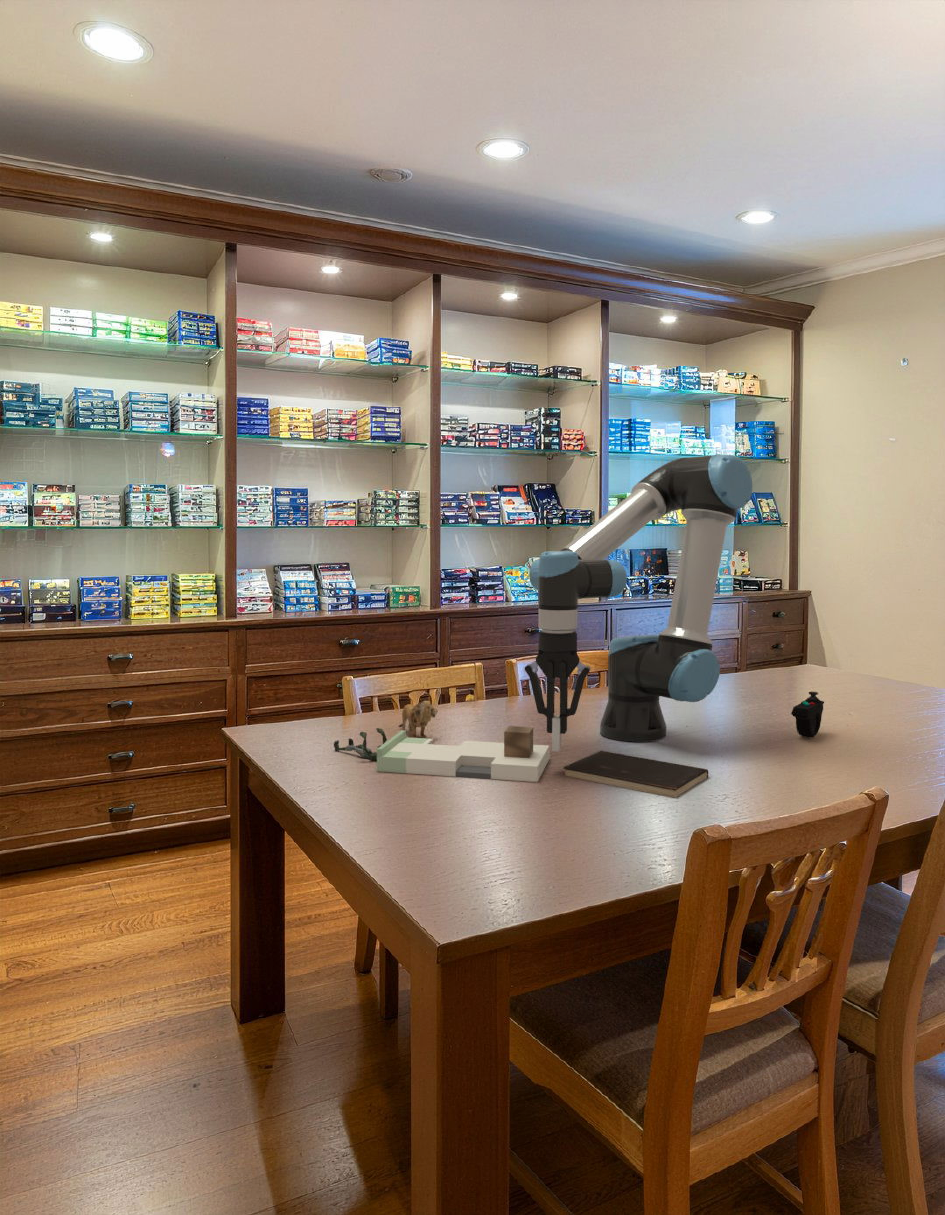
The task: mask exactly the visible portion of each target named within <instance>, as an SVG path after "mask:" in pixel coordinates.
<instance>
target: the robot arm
mask: <svg viewBox="0 0 945 1215" xmlns="http://www.w3.org/2000/svg"><path fill="white" fill-rule="evenodd" d="M752 493H753V479H752V475H751V472H750V471H749V467H748V466H747V464H746V462H744V460H742V459H741V458H740V457H739V456H737V455H734V454H720V453H716V454H713V455H704V456H693V457H691V456H690V457H681V458H680V457H679V458H676V459H672V460H671V461H668V462H666V463H664V464H663V465H661V466H660V467H658V468H656V469H655V470H653V471H652V472H650V473H649V474H648V475H646V476H645V477H643V478H641V479H640V481H638V482H637V483H636V484H635V485H633V487H632V488H631V492H630V494H629V495H628V496H626V497H625V498H624V499H623V500H622V501H620V502H619V503H618V504H617V505H615V506H614V507H613V508H612V509H610V510H609V511H608V512H607V513H606V514H605V515H603V516H602V517H601V518H599V519H598V520H596V521H595V522H594V523H593V524H592V525H590V526H589V527H588V528H587V529H586V530H584V531H583V532H581V533H580V534H579V535H578V536H576V537H575V538H574V539H573V540H572V541H570V542H569V543H567V545H565V546H564V547H563V548H562V549H560V550H557V551H556V550H551V551H550V550H549V551H547V550H546V551H543V552H542V553H541V554H540V557H539V558H538V559H536V560H535V561H534V562H533V563H532V564H531V566H530V568H529V572H528V578H529V582H530V584H531V586H532V588H533V589H534V590H536V591H538V628H539V632H538V643H537V644H538V645H537V648H538V650H537V651H538V652H537V655H536V657H535V660H534V661H533V662H530V663H528V664H527V665H525V667H524V671H525V672H526V674H527V676H528V677H529V680H530V685H531V690H532V692H533V693H532V694H533V697H534V702H535V706H536V710H537V713H538V714H540V715H544V716H545V717H546V732H547V734H551V736H552V737H551V751H552V752H561V750H562V734H563V735H565V734H566V733H567V731H568V717H570V716H574V715H576V712H577V709H578V706H579V702H580V699H581V696H582V695H581V694H582V690H583V688H584V687H583V686H584V684H585V679H586V678H587V676H588V675H589V673H590V672H591V666H590V665H585V664H584V663H582V662H581V661H580V657H579V654H578V633H577V632H576V631H575V630H577V629H578V604H579V602H578V601H579V600H581V599H596V598H598V599H599V598H601V599H602V598H605V599H608V598H613V597H618V596H619V595H621V594H622V593H623V592H624V591H625V589H626V586H627V579H628V578H627V577H628V576H627V575H628V574H627V571H626V568H625V567H624V565H623V564H622V563H621V562H619V561H617V560H614V559H607V557H609V556H610V555H611V554H612V553H614V552H615V551H616V550H617V549H618V548H620V547H621V546H622V545H623V544H624V543H626V542H627V541H628V540H629V539H631V537H633V536H634V535H636V533H638V532H639V531H640V530H642V528H644V527H645V526H646V525H648V524H649V523H650V522H651V521H652V520H653V521H657V520H661V519H662V518H663V517H664V516H666V515H667V514H668V513H671V512H675V511H679V510H681V511H680V513H681V515H682V516H683V518H684V519H685V521H686V523H685V528H684V533H683V539H682V544H681V550H680V556H679V562H678V566H677V567H678V568H677V572H676V578H675V584H674V588H673V590H674V591H673V593H672V594H673V595H672V599H671V606H670V612H669V616H668V622H667V626H666V628H665V629H664V630H662V631H661V632H659V633H658V634H650V635H649V634H648V635H647V634H645V635H644V634H643V635H631V636H621V637H615V638H612V639H611V641H610V642H609V648H608V654H607V658H608V659H607V660H608V663H607V666H608V668H607V669H608V670H607V672H608V674H607V675H608V676H607V678H608V681H607V684H608V686H607V687H608V694H607V695H608V697H607V702H606V703H607V704H606V706H605V709H604V712H603V715H602V718H601V721H600V726H599V731H600V732H599V733H600V735H602V736H603V737H604V738H607V739H611V740H616V741H623V742H632V743H633V742H635V743H637V742H638V743H639V742H641V743H642V742H655V741H659V740H662V739H664V738H666V737H667V723H666V721H665V717H664V714H663V711H662V708H661V704H660V697H663V698H668V699H672V700H674V701H677V702H686V703H687V702H688V703H697V702H700V701H703V700H705V699H706V698H707V696H709V695H710V694H711V693H712V692H713V691H714V689H715V688H716V686H717V683H718V680H719V679H720V674H721V673H720V672H721V665H720V663H719V657H718V656H717V655H716V653H714V652H713V651H712V650H713V646H714V643H713V641H712V640H711V638H710V637H709V636H708V631H709V625H710V620H711V615H712V609H713V605H714V604H713V603H714V598H715V592H716V587H717V581H718V576H719V571H720V570H719V569H720V565H721V559H722V553H723V548H724V542H725V536H726V532H727V527H728V526H729V525H730V524H732V523H734V522H735V521H736V516H737V511H738V510H739V509H742V508H744V507H746V505H747V504H748V503H749V502H750V500H751V498H752V495H753V494H752ZM538 667H539V668H540V670H541V671H542V673H543V674H544V676H545V677H546V704H545V702H544V697H543V693H542V688H541V684H540V680H539V675H538V672H539V668H538ZM576 668H577V671H576V672H577V673H576V674H577V675H578V677H577V680H576V683H575V687H574V691H573V695H572V699H571V704H570V707H569V708H568V700H569V698H568V696H569V695H568V691H569V690H568V687H569V686H568V684H569V683H568V682H569V677H570V676H571V674H572V673H573V671H575V670H576ZM556 678H557V679H559V714H558V715H556V714H555V712H556V711H555V694H556V693H555V688H556V687H555V686H556V684H555V683H556Z"/></svg>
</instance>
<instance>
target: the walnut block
mask: <svg viewBox="0 0 945 1215" xmlns="http://www.w3.org/2000/svg"><path fill="white" fill-rule="evenodd" d="M503 736H504V737H503V743H504V757H519V758H530V756H531V754H532V753H533V745H534V726H518V725H516V726H515V725H509V726H507V728H506V729H505V730H504V732H503Z"/></svg>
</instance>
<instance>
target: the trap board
mask: <svg viewBox="0 0 945 1215" xmlns="http://www.w3.org/2000/svg"><path fill="white" fill-rule="evenodd" d="M380 745H381V746H380V747H379V748H377V747H376V752H377V760H376V772H382V773H395V774H396V773H397V774H411V775H412V774H413V775H424V776H425V775H428V776H440V777H441V776H442V777H444V776H445V777H454V778H458V777H459V778H470V779H471V778H472V779H488V780H500V781H501V780H502V781H503V780H504V781H515V782H516V781H517V782H533V783H538V782H539V781H540V778H541V777H542V775H543V772H544V770H545V769H546V766H547V764H548V763H549V761H550V745H547V744H546V745H545V744H533V753H532V754H531V756H530V758H519V757H504V742H494V741H493V742H491V741H477V740H476V741H475V740H464V741H463V742H462V743H461V744H460V745H447V744H434V739H433V738H427V737H426V738H422V737H417V738H412V737H407V730H406V729H405V730H402V729H401V730H400V731H399V732H397V733H396V734H394V735H393V736H392V737H391V738H389V739H388V740H386V742H385V743H384V744H383V743H382V744H380Z"/></svg>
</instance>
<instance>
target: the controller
mask: <svg viewBox="0 0 945 1215" xmlns="http://www.w3.org/2000/svg"><path fill="white" fill-rule="evenodd" d="M808 695H810V696H808V697H806V699H805V700H802V701H801V702H800V703H799V704H796V705H795V706H793V707H792V710H791V713H790V714H791V715H792V717H794V718H795V725H796V726H795V727H796V731H797V733H798V734H799V736H801V737H803V738H810V739H811V738H814V737H816V736H817V735H818V733H819V730H820V728H821V723H822V716H823V712H824V703H825V701H824V700H820V699H819V697H817V695H819V692H818V691H808Z"/></svg>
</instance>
